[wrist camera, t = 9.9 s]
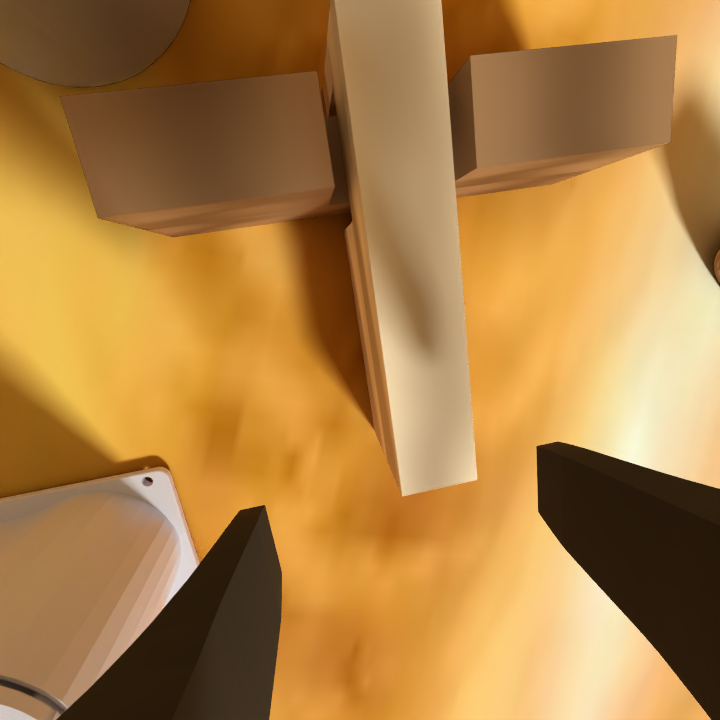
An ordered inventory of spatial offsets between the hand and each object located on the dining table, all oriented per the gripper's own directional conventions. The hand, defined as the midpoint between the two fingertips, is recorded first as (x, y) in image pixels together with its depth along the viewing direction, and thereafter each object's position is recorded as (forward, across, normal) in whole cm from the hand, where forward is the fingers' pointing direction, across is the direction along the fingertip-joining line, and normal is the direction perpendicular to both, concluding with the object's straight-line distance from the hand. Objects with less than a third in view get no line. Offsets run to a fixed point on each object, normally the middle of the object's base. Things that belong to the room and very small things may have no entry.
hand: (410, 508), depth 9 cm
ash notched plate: (+10, -2, -6) cm, 12 cm away
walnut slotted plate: (+10, -2, -10) cm, 14 cm away
